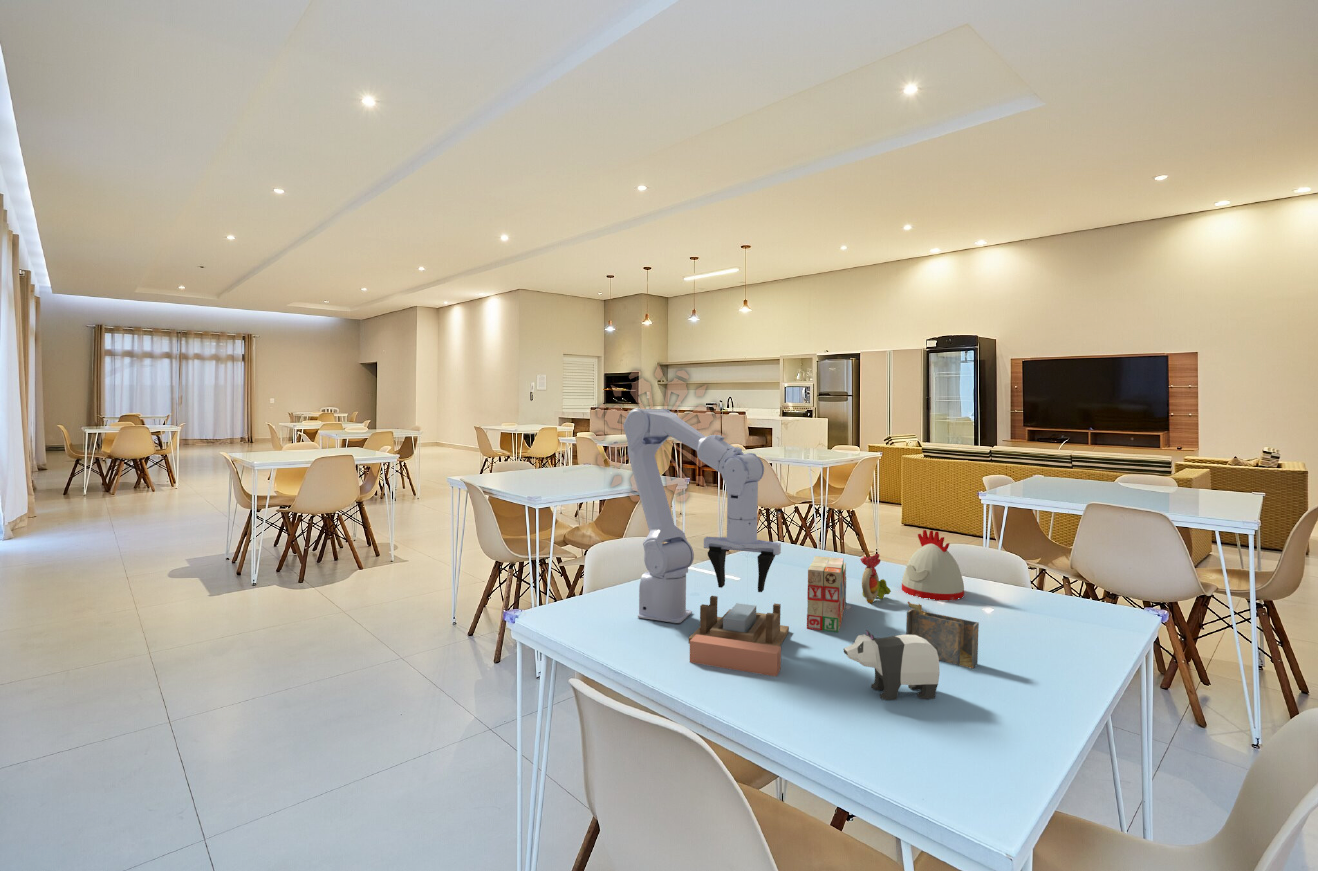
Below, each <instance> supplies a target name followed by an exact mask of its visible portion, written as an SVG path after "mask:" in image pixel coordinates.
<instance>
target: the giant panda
mask: <svg viewBox="0 0 1318 871" xmlns="http://www.w3.org/2000/svg"><path fill="white" fill-rule="evenodd" d="M843 653H844V655H846V656H847V658H848V659H849V660H852V661H854V662H856V663H859V664H860V665H862V666H863V667H866V668H867V667H868V668H873V669H874V682H873V683H871V685H870V688H871V689H872V690H875V691H883V692H881V693H880V694H879V698H880V699H881V700H883V701H884V700H885V701H893V700H894V701H895V700H897V699H898V695H899V689H900V688H901V686H908V687H907V688H908V689H910V690H911V691H912V690H913V691H916V690H917V691H919V692H917V694H916V695H917V698H919V699H922V700H926V699H927V700H932V699H935V698H936V693H937V690H938V689H937V688H938V685H939V681H940V675H941V674H940V670H941V669H940V660H939V657H938V655H939V653H938V648H937V646H936V645H935V644H932V643H929V642H928V641H927V640H926V639H924V638H921V637H919V636H917V635H906V633H905V634H900V635H892V636H885V637H877V638H875V636H874V634H872V633H871V632H870V631H869V630H867V629H866V630H865V633H864V634H860V635H857V636H856V638H855V640H854V641H853V644H850V645H849V646H846V647H844V648H843Z"/></svg>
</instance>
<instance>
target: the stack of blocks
mask: <svg viewBox="0 0 1318 871" xmlns="http://www.w3.org/2000/svg"><path fill="white" fill-rule="evenodd" d="M806 599H807V609H806V610H807V611H806V612H807V613H806V629H807V630H814V631H815V630H816V631H824V632H830V633H832V632H833V633H839V630H840V628H841V625H842V622H843V615H844V610H845V608H846V604H847V563H846V562H844V557H831V556H830V557H829V556H817V555H815V556H814V558H813V560H812V562H811V563H810V565H809V567H808V569H807V598H806Z"/></svg>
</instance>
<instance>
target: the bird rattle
mask: <svg viewBox="0 0 1318 871" xmlns="http://www.w3.org/2000/svg"><path fill="white" fill-rule="evenodd" d="M860 562H861V563H862V564H863V565H865V566H866V567H865V568H864V571H863V573H862V575H861V576H862V578H861V588H862V593H861V594H862V597H864V598H865V600H866V602H867V604H872V603H873V602H874V601H875V600H876V598H877V597H878V599H879V600H880V599H881V600H883V599H884V597H885V596H886V595H890V594H891V592H892V590H891V589H890V588H889V586H888V585H887V581H886V579H883V578H881V579H880V578H879V574H878V572H877V569H876V567H878V565H879V564H880V563H881V559H880V553H876V554H874V555H872V556H871V555H870V556H868V557H867V556H865V555H864V556H863V557H861V558H860Z"/></svg>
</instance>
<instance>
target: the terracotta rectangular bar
mask: <svg viewBox="0 0 1318 871" xmlns="http://www.w3.org/2000/svg"><path fill="white" fill-rule="evenodd" d="M689 663H690V664H691V663H692V664H698V665H704V666H710V667H711V666H712V667H715V668H723V669H728V670H734V671H741V672H745V673H746V672H747V673H753V674H757V675H758V674H760V675H763V676H764V675H765V676H770V677H778V675H779V674H780V671H781V669H782V666H781V665H782V646H774V645H767V644H760V643H753V642H746V641H739V640H732V639H725V638H719V637H712V636H705V635H698V634H696V635H695V636H694V637H693V638H692V639H691V640H690V643H689Z"/></svg>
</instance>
